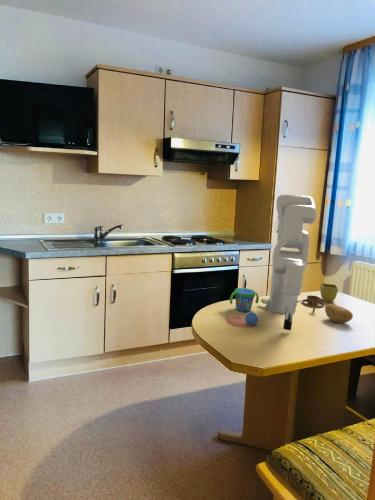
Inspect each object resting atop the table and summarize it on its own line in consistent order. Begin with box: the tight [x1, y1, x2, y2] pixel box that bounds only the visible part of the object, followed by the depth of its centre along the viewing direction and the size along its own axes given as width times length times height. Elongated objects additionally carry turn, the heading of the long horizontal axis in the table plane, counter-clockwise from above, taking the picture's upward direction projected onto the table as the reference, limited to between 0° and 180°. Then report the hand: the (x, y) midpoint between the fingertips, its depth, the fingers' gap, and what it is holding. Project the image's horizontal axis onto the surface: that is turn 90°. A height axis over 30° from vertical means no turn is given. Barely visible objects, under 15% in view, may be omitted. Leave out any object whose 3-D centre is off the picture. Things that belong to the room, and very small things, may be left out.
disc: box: [225, 316, 253, 328], centre depth 193 cm, size 13×13×1 cm
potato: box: [324, 303, 354, 324], centre depth 202 cm, size 10×14×8 cm
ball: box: [244, 311, 259, 326], centre depth 189 cm, size 6×6×6 cm
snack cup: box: [229, 287, 260, 313], centre depth 209 cm, size 16×10×10 cm
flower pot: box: [319, 282, 339, 303], centre depth 238 cm, size 9×9×9 cm
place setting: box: [297, 294, 325, 314], centre depth 225 cm, size 18×20×6 cm
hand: (287, 329), depth 183 cm, fingers closed
